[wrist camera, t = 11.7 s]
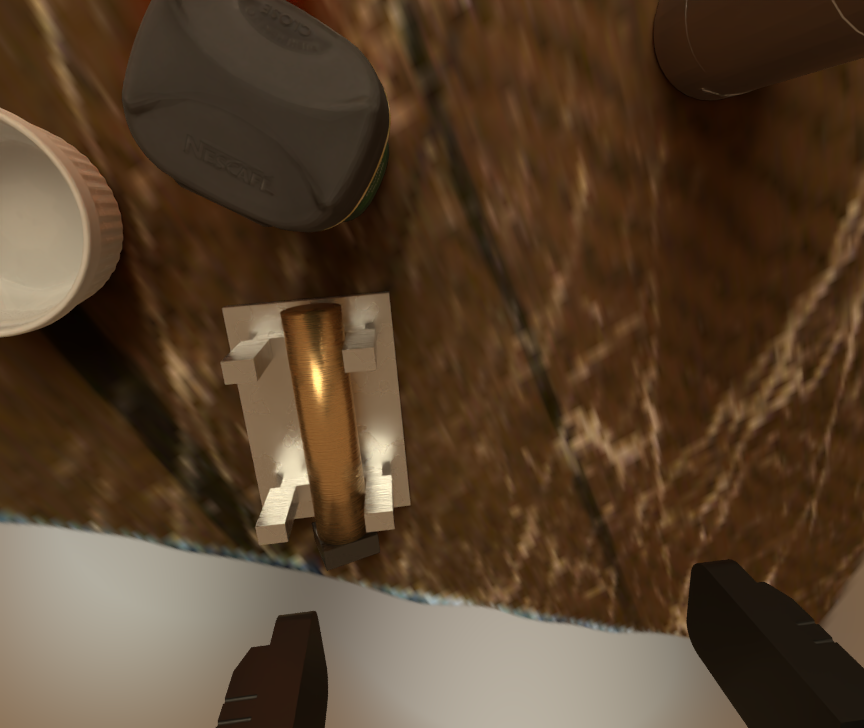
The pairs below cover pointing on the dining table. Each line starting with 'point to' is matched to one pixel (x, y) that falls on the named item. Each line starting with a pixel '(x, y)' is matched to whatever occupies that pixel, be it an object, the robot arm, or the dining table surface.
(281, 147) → the coffee jar
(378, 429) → the white holder rack
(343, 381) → the tube
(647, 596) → the dining table surface
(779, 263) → the dining table surface
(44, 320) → the ramekin
